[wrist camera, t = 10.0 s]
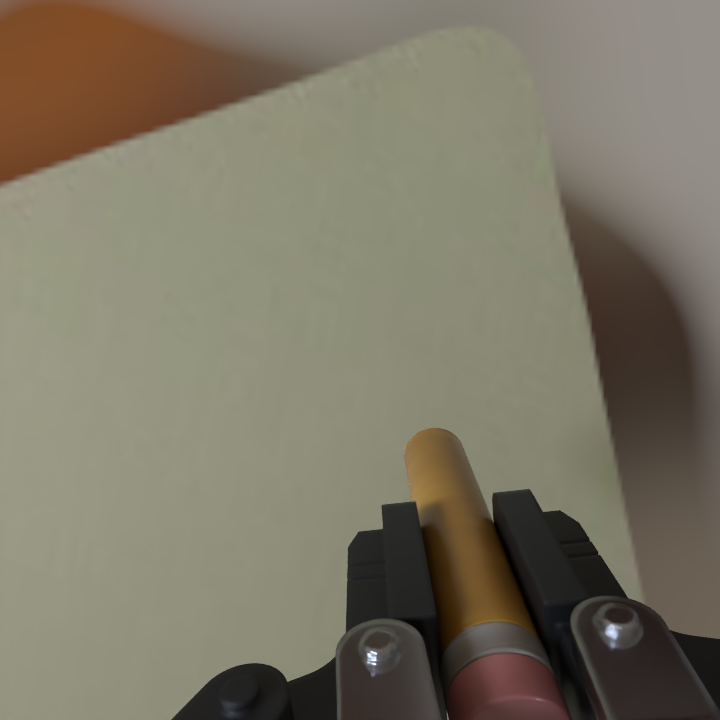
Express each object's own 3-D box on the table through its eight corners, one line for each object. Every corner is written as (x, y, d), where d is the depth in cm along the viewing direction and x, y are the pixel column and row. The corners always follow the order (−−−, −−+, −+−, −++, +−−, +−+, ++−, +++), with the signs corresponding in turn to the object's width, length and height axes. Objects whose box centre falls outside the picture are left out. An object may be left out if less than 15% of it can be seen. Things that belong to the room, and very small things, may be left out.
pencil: (461, 423, 16) (578, 690, 8) (466, 479, 17) (581, 790, 8) (400, 430, 16) (448, 702, 8) (406, 485, 17) (457, 802, 8)
